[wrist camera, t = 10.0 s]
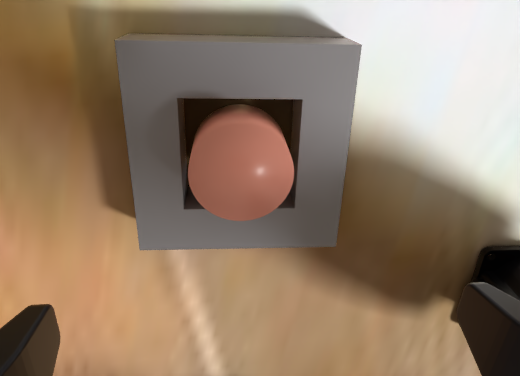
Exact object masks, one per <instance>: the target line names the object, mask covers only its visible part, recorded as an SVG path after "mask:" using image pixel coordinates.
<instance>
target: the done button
mask: <svg viewBox="0 0 520 376" xmlns="http://www.w3.org/2000/svg"><path fill="white" fill-rule="evenodd" d="M293 179H294V165H293V160H292V157H291V154H290V152H289V149H288V146H287V143H286V141H285V138H284V135H283V133H282V130H281V128H280V127H279V125H278V123H277V122H276V121H275V120H274V119H273V118H272V117H271V116H270V115H269V114H268V113H266V112H265V111H263V110H261V109H259V108H257V107H254V106H250V105H244V104H235V105H229V106H225V107H222V108H220V109H218V110H216V111H214V112H212V113H211V114H210V115H209V116H207V117H206V118H205V119H204V120H203V122H202V123H201V124H200V126H199V128H198V130H197V132H196V134H195V138H194V142H193V147H192V151H191V156H190V161H189V166H188V180H189V185H190V188H191V190H192V193H193V195H194V196H195V198H196V199H197V201H198V202H199V203H200V204H201V205H202V206H203V207H204V208H205V209H206V210H208V211H209V212H210V213H212V214H214V215H216V216H218V217H221V218H224V219H227V220H233V221H248V220H254V219H257V218H260V217H263V216H265V215H267V214H269V213H270V212H272V211H273V210H275V209H276V208H277V207H278V206H279V205H280V204H281V203H282V202H283V201H284V200H285V199H286V197H287V195H288V194H289V192H290V189H291V187H292V184H293Z"/></svg>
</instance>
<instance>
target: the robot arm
mask: <svg viewBox="0 0 520 376" xmlns="http://www.w3.org/2000/svg"><path fill="white" fill-rule="evenodd" d="M490 254H491V255H490ZM489 255H490V256H489ZM457 319H458V322H459V325H460V327H461V329H462V331H463V333H464V336H465V338H466V340H467V343H468V345H469V347H470V350H471V352H472V354H473V357H474V359H475V361H476V363H477V366H478V368H479V370H480V373H481V375H482V376H520V246H490V247H486V248H484V249H483V250H482V251H481V253H480V256H479V259H478V262H477V265H476V269H475V272H474V275H473V278H472V281H471V283H468V284H467V285H466V286H465V287H464V290H463V293H462V296H461V299H460V302H459V305H458V307H457ZM59 345H60V331H59V327H58V323H57V319H56V316H55V312H54V308H53V307H52V306H51V305H49V304H40V305H30V306H28V307H27V308H25V309H24V310H23V311H21V312H20V313H19V314H18V315H16V316H15V317H14V318H13V319H12V320H10V321H9V322H8V323H7V324H5V325H4V326H3V327H2V328H0V376H53V371H54V367H55V363H56V358H57V354H58V350H59Z"/></svg>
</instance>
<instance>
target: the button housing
mask: <svg viewBox="0 0 520 376" xmlns="http://www.w3.org/2000/svg"><path fill="white" fill-rule="evenodd" d="M361 46H362V45H361V44H359V43H357V42H354V41H352V40H350V39H348V38H332V37H284V36H236V35H188V34H140V33H128V34H126V35H124V36H122V37H120V38H118V39H116V40H115V47H116V55H117V64H118V72H119V81H120V89H121V97H122V106H123V114H124V122H125V131H126V139H127V147H128V156H129V164H130V173H131V181H132V189H133V198H134V206H135V214H136V223H137V231H138V239H139V248H140V250H177V249H234V248H291V247H336V242H337V234H338V226H339V218H340V210H341V203H342V195H343V187H344V179H345V171H346V163H347V156H348V148H349V140H350V132H351V124H352V117H353V109H354V101H355V93H356V85H357V78H358V70H359V62H360V54H361ZM183 98H214V99H294V101H293V117H292V133H291V149H290V154H291V157H292V160H293V165H294V179H293V184H292V187H291V189H290V192H289V194H288V195H287V197H286V199H285V200H284V201H283V202H282V203H281V204H280V205H279V206H278V207H277V208H276V209H275V210H273V211H272V212H270V213H269V214H267V215H265V216H263V217H260V218H257V219H254V220H248V221H233V220H227V219H224V218H221V217H218V216H216V215H214V214H212V213H210V212H209V211H208V210H206V209H205V208H204V207H203V206H202V205H201V204H200V203H199V202H198V201H197V199H196V198H195V196H194V195H193V193H192V190H191V188H190V187H188V176H187V158H186V139H185V121H184V102H183Z"/></svg>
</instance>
